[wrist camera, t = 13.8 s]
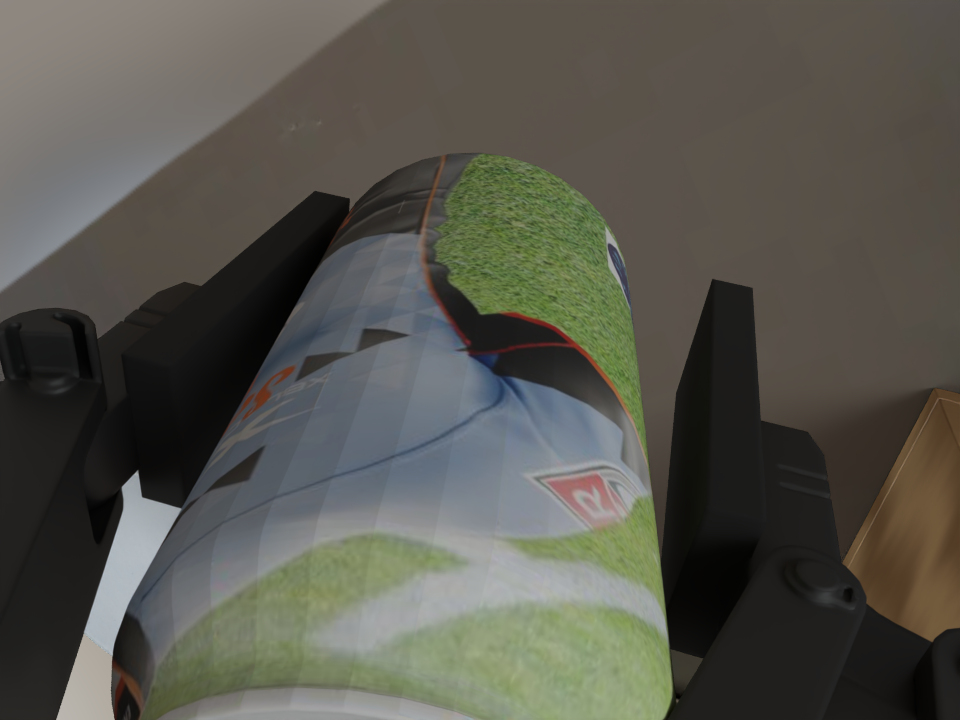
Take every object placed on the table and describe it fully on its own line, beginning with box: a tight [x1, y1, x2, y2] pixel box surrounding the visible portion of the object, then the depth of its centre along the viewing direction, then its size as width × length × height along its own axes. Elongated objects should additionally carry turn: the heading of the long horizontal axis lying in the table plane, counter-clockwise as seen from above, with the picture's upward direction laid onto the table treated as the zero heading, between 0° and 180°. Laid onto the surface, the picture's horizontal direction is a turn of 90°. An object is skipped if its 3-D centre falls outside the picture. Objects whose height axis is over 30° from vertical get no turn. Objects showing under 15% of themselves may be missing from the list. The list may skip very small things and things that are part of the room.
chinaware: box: [84, 470, 181, 656], centre depth 42 cm, size 15×15×8 cm
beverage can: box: [111, 153, 676, 720], centre depth 12 cm, size 6×7×12 cm
